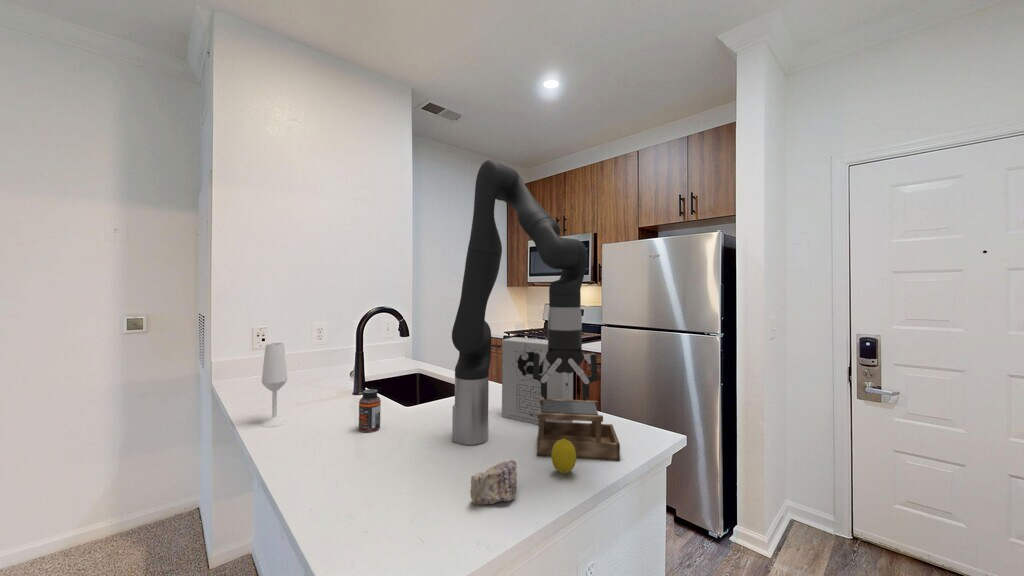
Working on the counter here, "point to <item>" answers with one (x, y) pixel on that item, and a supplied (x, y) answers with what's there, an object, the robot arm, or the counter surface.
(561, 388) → the cereal box
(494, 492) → the mineral specimen
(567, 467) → the lemon
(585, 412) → the trapdoor
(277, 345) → the champagne flute
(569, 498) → the counter surface
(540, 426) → the stand
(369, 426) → the supplement bottle
